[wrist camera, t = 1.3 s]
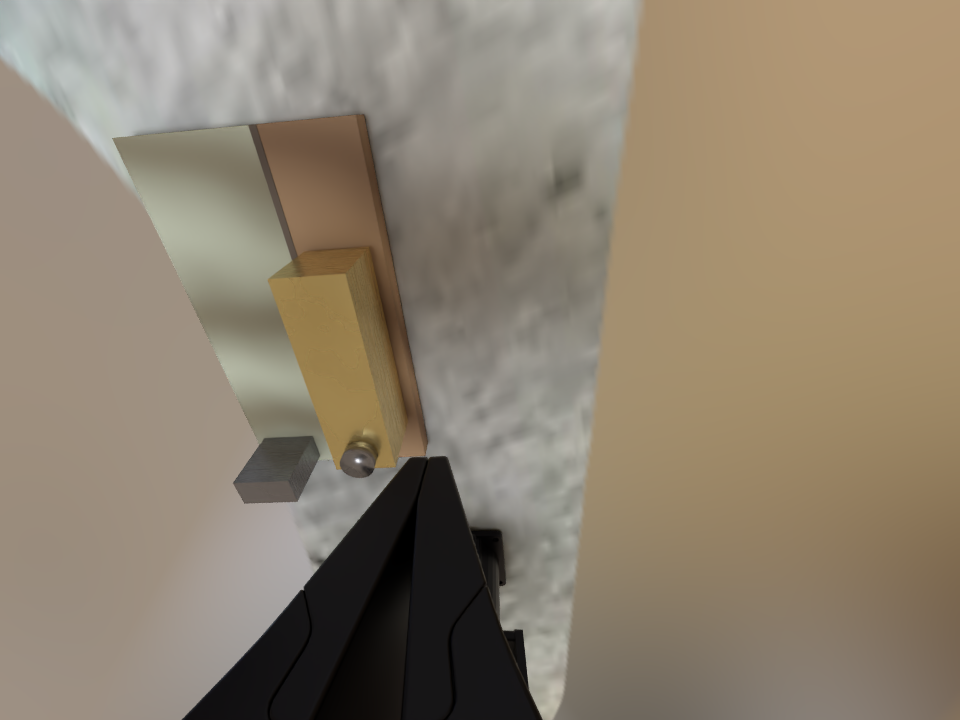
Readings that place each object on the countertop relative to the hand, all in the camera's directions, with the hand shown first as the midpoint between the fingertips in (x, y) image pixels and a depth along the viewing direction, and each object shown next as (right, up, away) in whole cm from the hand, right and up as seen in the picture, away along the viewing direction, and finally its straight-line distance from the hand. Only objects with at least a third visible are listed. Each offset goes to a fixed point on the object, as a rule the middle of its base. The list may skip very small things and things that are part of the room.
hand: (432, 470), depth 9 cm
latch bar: (-5, +3, +12) cm, 13 cm away
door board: (-8, +5, +13) cm, 16 cm away
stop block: (-10, -3, +16) cm, 19 cm away
